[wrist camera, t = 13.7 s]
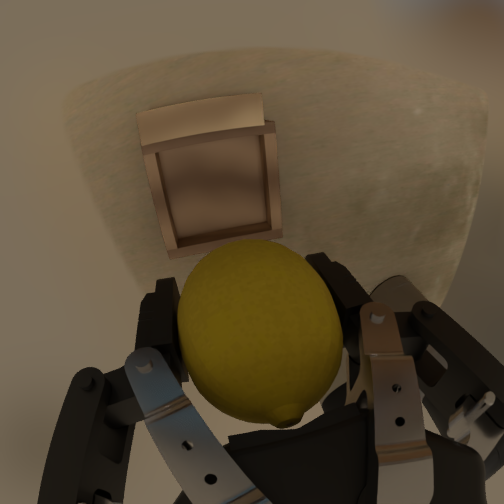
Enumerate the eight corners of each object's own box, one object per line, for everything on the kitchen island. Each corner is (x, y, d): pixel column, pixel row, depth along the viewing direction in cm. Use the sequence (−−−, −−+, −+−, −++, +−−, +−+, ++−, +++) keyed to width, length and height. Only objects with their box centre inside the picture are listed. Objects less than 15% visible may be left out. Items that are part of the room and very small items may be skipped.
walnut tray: (274, 224, 29) (282, 237, 26) (171, 244, 28) (169, 259, 25) (265, 119, 23) (274, 121, 21) (146, 139, 22) (140, 144, 19)
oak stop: (250, 121, 23) (264, 125, 18) (151, 138, 21) (141, 146, 17) (248, 95, 21) (261, 92, 17) (147, 112, 20) (135, 113, 16)
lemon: (290, 299, 15) (352, 430, 8) (187, 313, 14) (202, 464, 7) (298, 202, 12) (415, 335, 5) (169, 214, 11) (153, 393, 4)
